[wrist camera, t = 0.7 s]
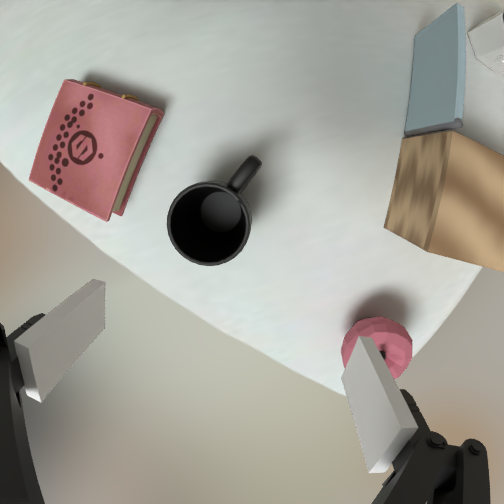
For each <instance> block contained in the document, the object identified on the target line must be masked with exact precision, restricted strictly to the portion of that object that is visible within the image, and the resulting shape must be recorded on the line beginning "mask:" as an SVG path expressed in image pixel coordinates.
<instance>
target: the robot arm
mask: <svg viewBox="0 0 504 504" xmlns="http://www.w3.org/2000/svg"><path fill="white" fill-rule="evenodd" d="M104 329H105V282H103V281H99V280H96V279H92V280H91V281H89V282H88V283H87V284H85V285H84V286H83V287H81V288H80V289H79V290H77V291H76V292H75V293H73V294H72V295H71V296H69V297H68V298H67V299H66V300H64V301H63V302H62V303H60V304H59V305H58V306H57V307H55V308H54V309H53V310H51V311H50V312H49V313H48V314H46V315H45V314H43V313H41V314H39V315H36V316H33V317H32V318H31V319H29V320H28V321H27V322H26V323H24V324H23V325H21V327H19V328H18V329H17V330H15V331H14V332H13V333H11V334H10V335H9V336H8V337H6V334H5V329H4V326H3V325H2V324H1V323H0V504H45V502H44V499H43V496H42V494H41V490H40V486H39V483H38V480H37V476H36V472H35V468H34V464H33V460H32V456H31V451H30V446H29V442H28V436H27V431H26V426H25V419H24V413H23V406H22V398H21V394H20V389H21V388H22V387H23V386H25V389H26V392H27V395H28V396H30V397H31V398H34V399H35V400H37V401H39V402H42V401H43V400H44V399H45V397H46V396H47V395H48V394H49V392H50V391H51V390H52V389H53V388H54V386H55V385H56V384H57V383H58V382H59V380H60V379H61V378H62V377H63V376H64V375H65V373H66V372H67V371H68V370H69V369H70V367H71V366H72V365H73V364H74V363H75V362H76V360H77V359H78V358H79V357H80V356H81V355H82V353H83V352H84V351H85V350H86V349H87V348H88V347H89V345H90V344H91V343H92V342H93V341H94V340H95V339H96V338H97V336H98V335H99V334H100V333H101V332H102V331H103V330H104ZM341 379H342V382H343V385H344V389H345V392H346V395H347V398H348V402H349V405H350V408H351V412H352V415H353V419H354V422H355V425H356V428H357V432H358V436H359V439H360V443H361V446H362V450H363V454H364V457H365V461H366V465H367V468H368V472H369V473H376V472H385V471H386V470H387V469H388V468H389V466H390V465H391V464H393V467H394V471H393V473H392V474H391V475H390V476H389V477H388V478H387V480H386V481H385V482H384V483H383V484H382V485H383V488H382V489H381V491H380V492H379V494H378V495H377V497H376V498H375V500H374V501H373V502H372V504H426V502H427V504H490V482H489V469H488V459H487V451H486V448H485V446H484V445H483V444H482V443H481V442H480V441H478V440H475V439H468V440H466V441H465V442H464V443H463V444H462V445H461V446H460V447H458V446H453V445H448V444H447V441H446V439H445V438H444V437H443V436H441V435H440V434H439V433H436V432H433V431H430V429H429V427H428V425H427V423H426V421H425V419H424V418H423V416H422V414H421V412H419V408H418V406H416V402H415V401H414V399H413V397H412V396H411V395H410V394H409V393H408V392H407V391H406V390H404V389H399V388H398V386H397V384H396V382H395V380H394V378H393V376H392V374H391V372H390V370H389V369H388V367H387V365H386V363H385V361H384V359H383V357H382V355H381V354H380V352H379V350H378V348H377V346H376V344H375V343H374V341H373V339H372V338H370V337H363V336H359V337H358V339H357V342H356V344H355V347H354V349H353V351H352V354H351V356H350V359H349V361H348V363H347V366H346V368H345V370H344V373H343V375H342V377H341Z"/></svg>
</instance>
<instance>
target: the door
mask: <svg viewBox="0 0 504 504" xmlns="http://www.w3.org/2000/svg"><path fill="white" fill-rule="evenodd" d="M465 71H466V33H465V13H464V7H463V6H461V5H459V4H457V3H456V4H455V5H454V6H452V7H451V8H450V9H448V10H447V11H446V12H445V13H443V14H442V15H441V16H439V17H438V18H437V19H436V20H434V21H433V22H432V23H431V24H429V25H428V26H427V27H426V28H424V29H423V30H422V31H421V32H419V33H418V34H417V35H416V36H415V46H414V60H413V72H412V82H411V91H410V99H409V107H408V114H407V121H406V128H405V131H404V134H405V135H406V136H407V137H409V136H414V135H420V134H425V133H431V132H437V131H443V130H450V129H456V128H461V127H462V126H463V122H462V117H463V106H464V92H465Z"/></svg>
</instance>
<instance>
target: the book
mask: <svg viewBox="0 0 504 504" xmlns="http://www.w3.org/2000/svg"><path fill="white" fill-rule="evenodd" d="M163 116H164V113H163V111H162V110H160V109H158V108H156V107H153V106H151V105H148V104H145V103H143V102H140V101H139V100H138V98H137V97H135V96H133V95H131V94H130V95H120V94H117V93H114V92H111V91H108V90H105V89H102V87H101V86H100V85H99V84H96V83H94V82H84V83H83V82H80V81H77V80H73V79H68V80H64V82H63V84H62V86H61V88H60V91H59V93H58V95H57V98H56V100H55V102H54V105H53V107H52V110H51V113H50V115H49V118H48V120H47V123H46V126H45V129H44V132H43V134H42V137H41V140H40V143H39V146H38V149H37V153H36V156H35V159H34V163H33V166H32V170H31V173H30V177H29V181H31V182H33V183H35V184H36V185H38V186H40V187H42V188H44V189H45V190H47V191H49V192H51V193H53V194H55V195H57V196H58V197H60V198H62V199H64V200H66V201H68V202H70V203H71V204H73V205H75V206H77V207H79V208H81V209H83V210H85V211H87V212H88V213H90V214H92V215H94V216H96V217H98V218H100V219H102V220H104V221H106V222H108V221H109V220H110V217H111V214H112V212H113V213H115V214H117V215H119V216H122V215H123V212H124V209H125V207H126V204H127V201H128V198H129V196H130V193H131V191H132V188H133V185H134V183H135V180H136V178H137V175H138V173H139V170H140V168H141V165H142V163H143V161H144V158H145V156H146V153H147V151H148V149H149V147H150V144H151V142H152V140H153V137H154V135H155V133H156V131H157V129H158V126H159V124H160V122H161V120H162V118H163Z"/></svg>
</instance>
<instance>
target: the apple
mask: <svg viewBox="0 0 504 504" xmlns="http://www.w3.org/2000/svg"><path fill="white" fill-rule="evenodd" d="M359 336H363V337H370V338H372V339H373V341H374V343H375V344H376V346H377V348H378V350H379V352H380V354H381V355H382V357H383V359H384V361H385V363H386V365H387V367H388V369H389V370H390V372H391V374H392V376H393V378H394V379H396V378H398V377H399V376H400V375H401V374H402V373H403V371H404V370H405V369H406V368H407V366H408V364H409V362H410V361H411V359H412V339H411V337H410V336H409V334H408V332H407V331H406V329H405V328H404V327H403V326H402V325H400V324H398V323H396V322H394V321H393V320H390V319H387V318H384V317H381V316H380V317H373V318H365V319H362V320H359V321H357V322H356V323H355V324H354V326H353V327H352V328H351V329H350V330H349V331H348V332H347V334H346V335H345V338H344V341H343V345H342V348H341V354H342V359H343V364H344V367H345V368H346V366H347V363H348V361H349V359H350V356H351V354H352V351H353V349H354V347H355V344H356V342H357V339H358V337H359Z"/></svg>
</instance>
